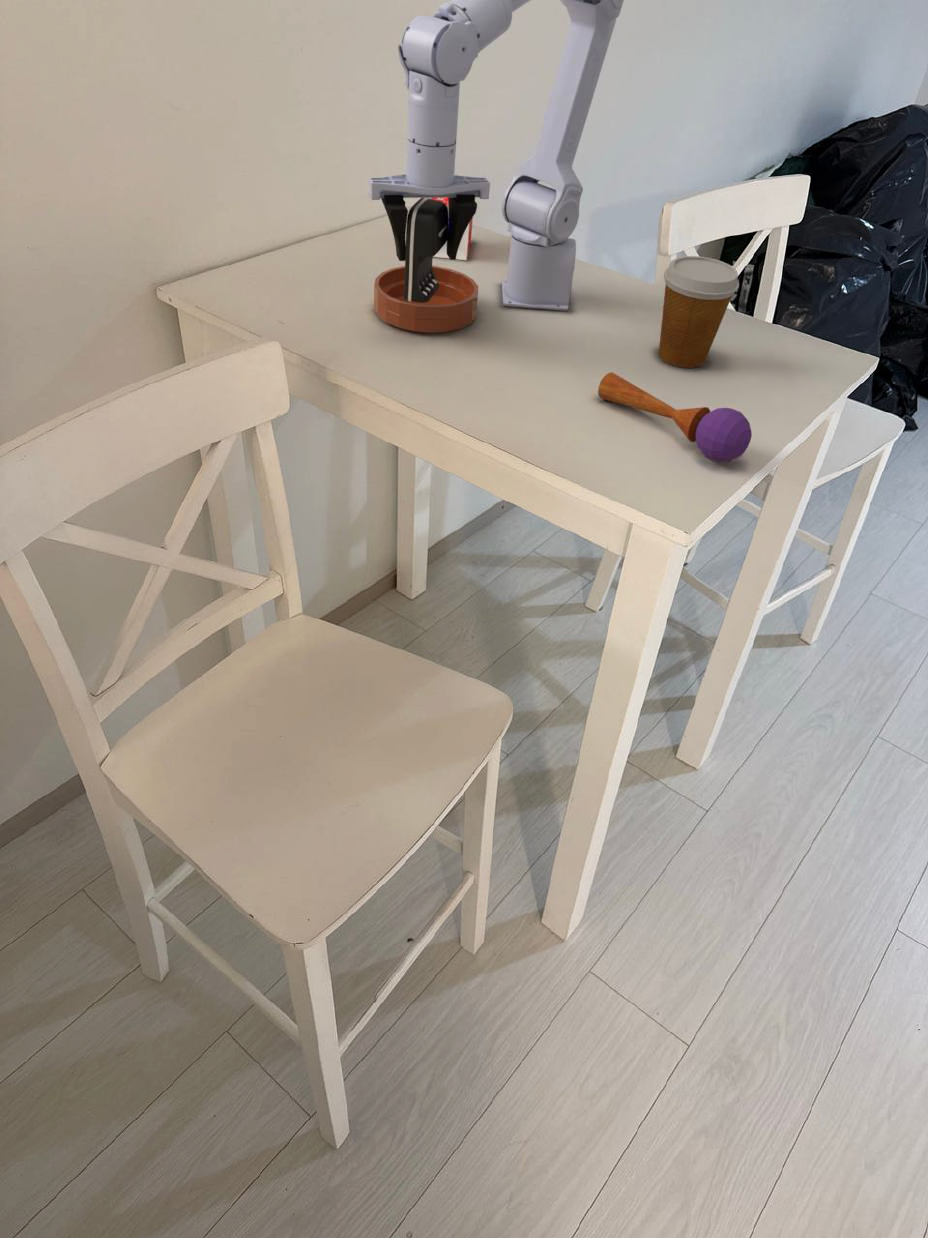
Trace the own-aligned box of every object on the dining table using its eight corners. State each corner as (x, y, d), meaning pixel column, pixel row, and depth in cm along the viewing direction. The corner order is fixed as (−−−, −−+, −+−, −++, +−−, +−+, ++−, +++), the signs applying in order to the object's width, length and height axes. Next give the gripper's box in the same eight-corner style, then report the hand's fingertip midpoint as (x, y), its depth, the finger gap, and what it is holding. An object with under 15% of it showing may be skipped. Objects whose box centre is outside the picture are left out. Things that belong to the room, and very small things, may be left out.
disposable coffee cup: (673, 335, 127) (694, 249, 119) (730, 361, 123) (756, 272, 115) (632, 353, 122) (651, 264, 114) (690, 381, 118) (714, 290, 109)
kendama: (627, 359, 112) (768, 415, 101) (615, 406, 115) (751, 465, 104) (597, 363, 108) (740, 422, 97) (586, 411, 111) (723, 473, 100)
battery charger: (430, 308, 115) (436, 214, 108) (402, 302, 116) (406, 209, 108) (446, 288, 120) (452, 197, 113) (419, 282, 121) (423, 192, 113)
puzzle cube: (470, 242, 148) (474, 191, 143) (466, 260, 143) (470, 207, 137) (422, 237, 149) (424, 186, 143) (416, 254, 143) (418, 202, 137)
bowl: (475, 296, 133) (478, 269, 130) (475, 339, 122) (478, 310, 119) (378, 289, 132) (378, 261, 129) (370, 331, 121) (370, 302, 119)
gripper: (482, 130, 110) (473, 244, 119) (364, 129, 107) (364, 246, 116) (498, 147, 105) (487, 265, 114) (375, 147, 102) (374, 268, 111)
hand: (426, 257), depth 115 cm, fingers closed on battery charger, 6 cm apart
